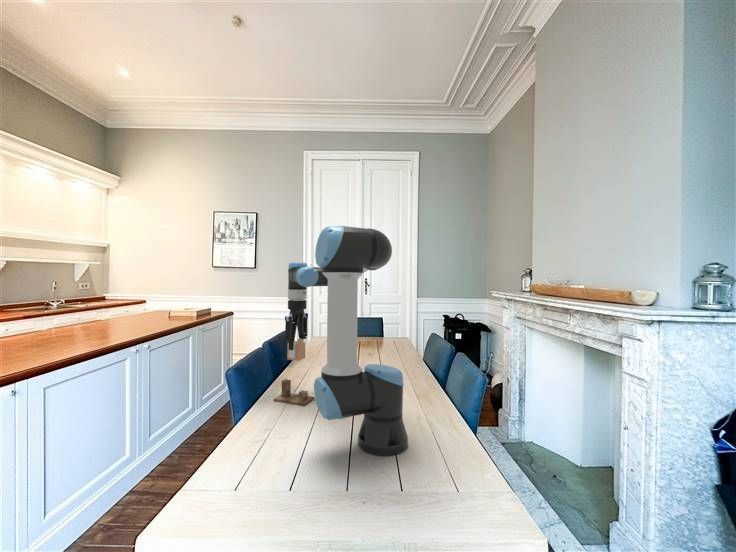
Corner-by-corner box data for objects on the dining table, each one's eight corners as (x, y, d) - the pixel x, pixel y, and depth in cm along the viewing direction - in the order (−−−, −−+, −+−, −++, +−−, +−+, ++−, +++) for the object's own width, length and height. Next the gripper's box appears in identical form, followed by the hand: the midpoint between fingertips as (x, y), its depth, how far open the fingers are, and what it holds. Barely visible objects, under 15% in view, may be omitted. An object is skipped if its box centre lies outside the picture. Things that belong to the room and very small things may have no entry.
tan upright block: (297, 360, 139) (298, 344, 138) (287, 359, 141) (287, 343, 140) (305, 358, 143) (305, 342, 143) (294, 356, 145) (294, 340, 145)
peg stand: (314, 399, 140) (314, 380, 140) (304, 406, 132) (304, 386, 132) (285, 394, 145) (285, 376, 145) (273, 401, 137) (274, 382, 137)
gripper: (291, 301, 132) (290, 362, 132) (316, 298, 149) (315, 352, 149) (275, 300, 135) (274, 360, 135) (301, 297, 151) (301, 350, 152)
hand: (296, 355), depth 142 cm, fingers closed on tan upright block, 5 cm apart
